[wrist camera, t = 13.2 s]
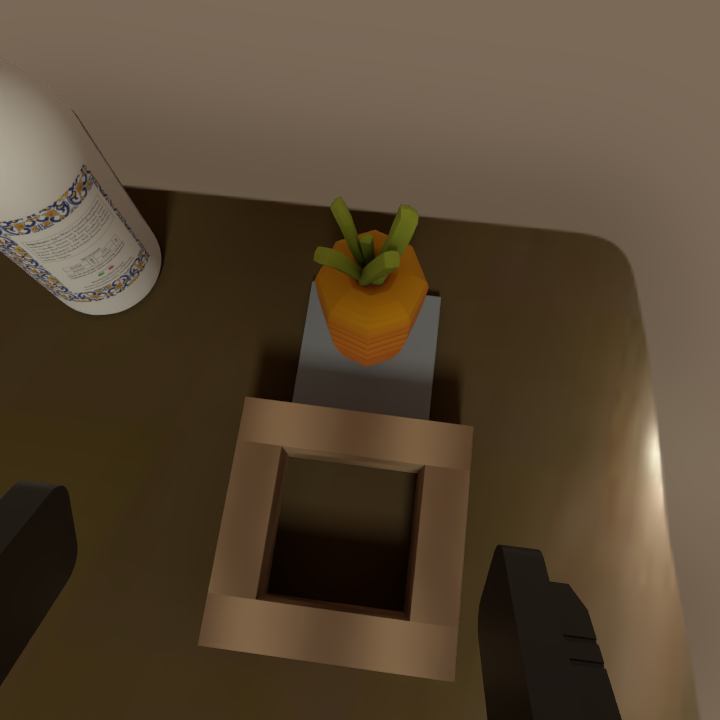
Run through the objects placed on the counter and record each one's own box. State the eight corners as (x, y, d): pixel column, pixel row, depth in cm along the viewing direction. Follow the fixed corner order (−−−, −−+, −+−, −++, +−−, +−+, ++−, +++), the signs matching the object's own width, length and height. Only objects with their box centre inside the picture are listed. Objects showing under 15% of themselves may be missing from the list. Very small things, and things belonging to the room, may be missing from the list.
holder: (216, 632, 32) (197, 645, 28) (257, 412, 35) (245, 396, 31) (442, 665, 31) (454, 682, 27) (460, 439, 35) (473, 426, 31)
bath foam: (53, 225, 39) (-243, -86, 19) (161, 212, 39) (-26, -107, 20) (53, 325, 37) (-277, 87, 17) (167, 310, 37) (-35, 61, 18)
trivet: (292, 408, 35) (291, 406, 35) (313, 285, 38) (312, 281, 37) (427, 426, 35) (428, 424, 34) (439, 301, 37) (441, 297, 37)
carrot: (322, 391, 35) (298, 287, 21) (329, 311, 36) (311, 163, 22) (407, 396, 35) (442, 296, 20) (410, 316, 36) (445, 171, 22)
